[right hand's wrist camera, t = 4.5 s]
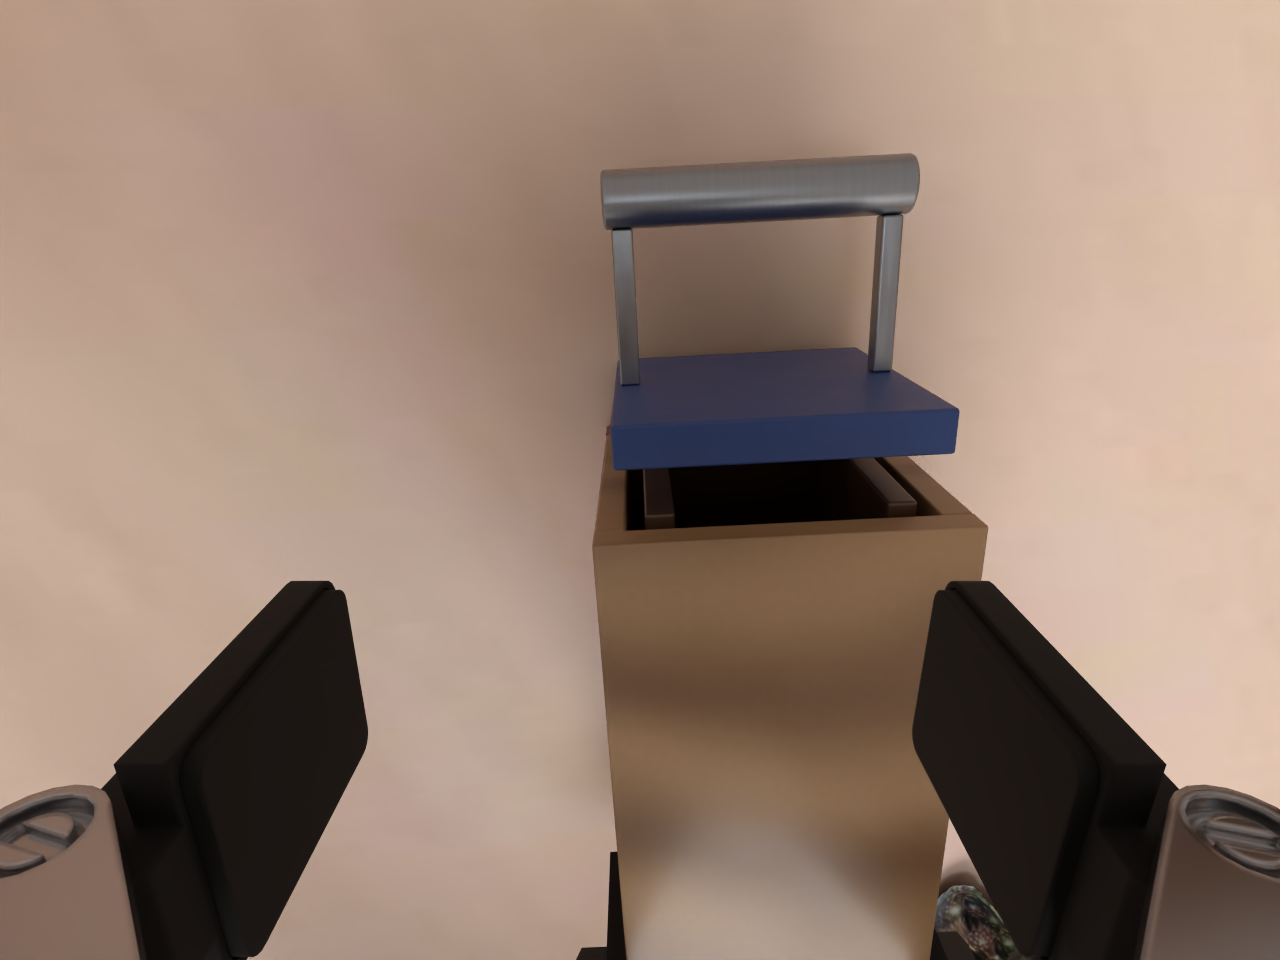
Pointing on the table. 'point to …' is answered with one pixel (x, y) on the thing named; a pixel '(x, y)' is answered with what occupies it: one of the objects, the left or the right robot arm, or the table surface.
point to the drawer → (769, 362)
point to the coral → (975, 924)
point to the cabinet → (774, 725)
